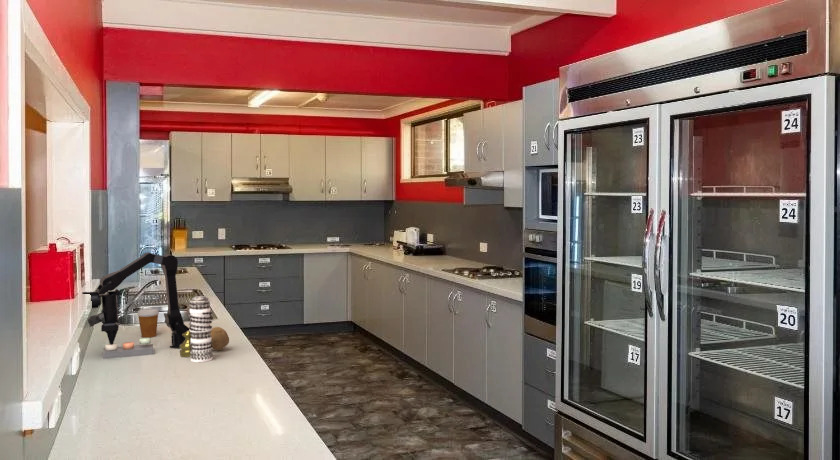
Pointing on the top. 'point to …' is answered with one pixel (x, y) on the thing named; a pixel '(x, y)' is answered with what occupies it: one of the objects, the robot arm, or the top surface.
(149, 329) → the disposable coffee cup
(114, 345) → the cream button
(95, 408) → the top surface
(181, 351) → the gold metal figurine
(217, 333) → the brown rounded lump
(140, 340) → the sage button
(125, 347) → the terracotta button
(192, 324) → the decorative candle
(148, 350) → the button panel
